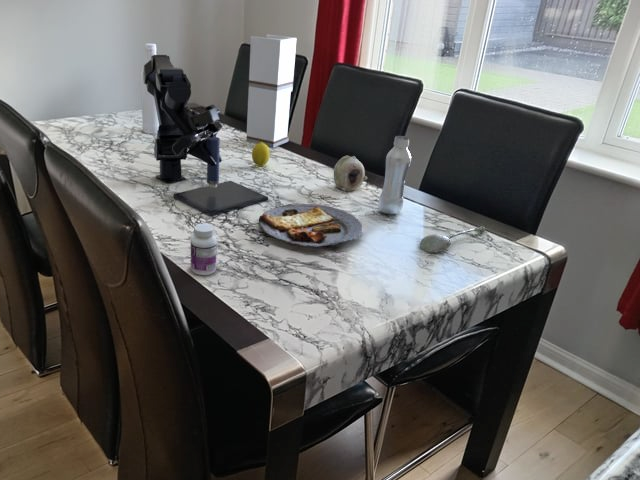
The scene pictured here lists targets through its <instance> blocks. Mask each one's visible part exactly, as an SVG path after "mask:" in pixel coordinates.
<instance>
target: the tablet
mask: <svg viewBox="0 0 640 480" xmlns="http://www.w3.org/2000/svg"><path fill="white" fill-rule="evenodd" d="M173 198H174V199H176V200H178V201H180V202H181V203H184V204H186V205H188V207H192V208H194V209H195V210H196V211H199V212H201V213H203V214H205V215H207V216H209V217H213V216H218V215H219V214H223V213H227V212H232V211H234V210H238V209H242V208H245V207H248V206H253V205H256V204H260V203H263V202H267V201H269V196H267V195H265V194H262V193H260V192H258V191H256V190H254V189H251V188H249V187H246V186H244V185H242V184H240V183H237V182H235V181H232V180H228V181H223V182H219V183H218V184H217V187H215V188H212V187H209V186H208V185H207V186H206V185H205V186H202V187H197V188H194V189H190V190H189V189H188V190H186V191H181V192H177V193H173Z"/></svg>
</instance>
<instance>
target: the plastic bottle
mask: <svg viewBox="0 0 640 480" xmlns="http://www.w3.org/2000/svg"><path fill="white" fill-rule="evenodd" d="M409 146H410V137H408V136H404V135H395V137H394V141H393V147H392V148H391V149H390V150H389V151H388V153H387V154H386V157H385V170H384V171H385V172H384V180H383V185H382V190H381V193H380V196H379V198H378V203H377V204H378V209H379V211H380V212H381V213H383V214H387V215H396V214H399V213H400V212H401V211H402V209H403V206H404V191H405V184H406V180H407V175H408V171H409V169H410V166H411V163H412V156H411V153H410V150H409V149H408V147H409Z"/></svg>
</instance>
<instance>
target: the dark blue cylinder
mask: <svg viewBox="0 0 640 480" xmlns="http://www.w3.org/2000/svg"><path fill="white" fill-rule="evenodd" d="M220 147H221V139H220V137H217V136H216V137H209V138H208V139H207V149H208V151H209V152H210V154H211V155H212V157H213V158H214V160H215V162H216V165H215V166H212V165H210V164H208V163H206V183H207V186H209V187H212V188H215V187H217V184H218V183H220V178H219V177H220V163H219V153H220V152H221V151H220Z"/></svg>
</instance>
